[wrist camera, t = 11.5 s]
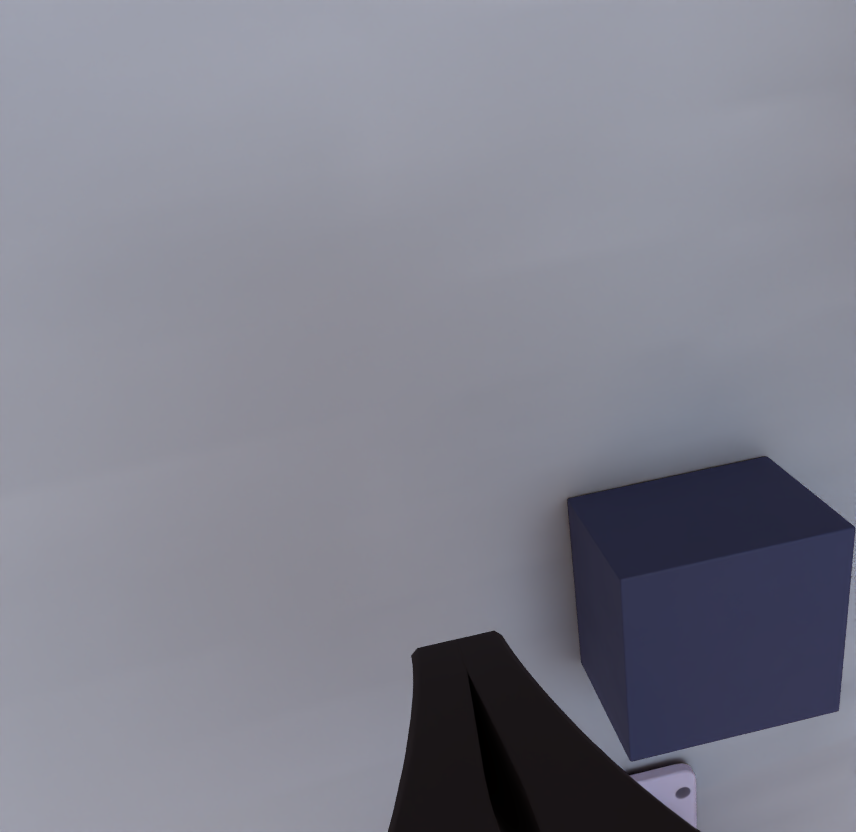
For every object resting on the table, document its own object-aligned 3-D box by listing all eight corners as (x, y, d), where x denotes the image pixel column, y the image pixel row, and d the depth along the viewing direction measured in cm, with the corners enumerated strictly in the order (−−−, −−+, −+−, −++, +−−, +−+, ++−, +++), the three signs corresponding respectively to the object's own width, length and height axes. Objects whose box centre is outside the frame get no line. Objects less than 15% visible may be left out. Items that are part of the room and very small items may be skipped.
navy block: (761, 620, 26) (840, 711, 22) (580, 662, 25) (630, 762, 21) (767, 455, 23) (856, 526, 19) (566, 498, 23) (620, 579, 19)
